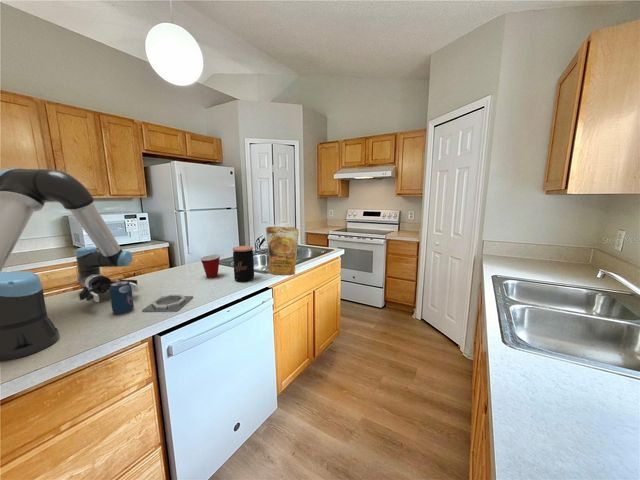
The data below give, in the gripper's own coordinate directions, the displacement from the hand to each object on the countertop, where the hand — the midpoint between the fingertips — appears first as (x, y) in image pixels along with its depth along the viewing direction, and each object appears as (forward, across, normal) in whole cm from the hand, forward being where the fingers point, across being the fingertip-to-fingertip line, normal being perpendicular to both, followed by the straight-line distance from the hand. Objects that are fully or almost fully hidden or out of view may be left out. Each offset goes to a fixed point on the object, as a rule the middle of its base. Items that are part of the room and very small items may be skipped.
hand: (118, 293), depth 106 cm
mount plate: (+14, -13, -6) cm, 20 cm away
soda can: (+5, +1, -6) cm, 8 cm away
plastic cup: (-4, -46, -6) cm, 46 cm away
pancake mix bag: (+26, -72, -6) cm, 77 cm away
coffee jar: (+16, -53, -6) cm, 55 cm away
